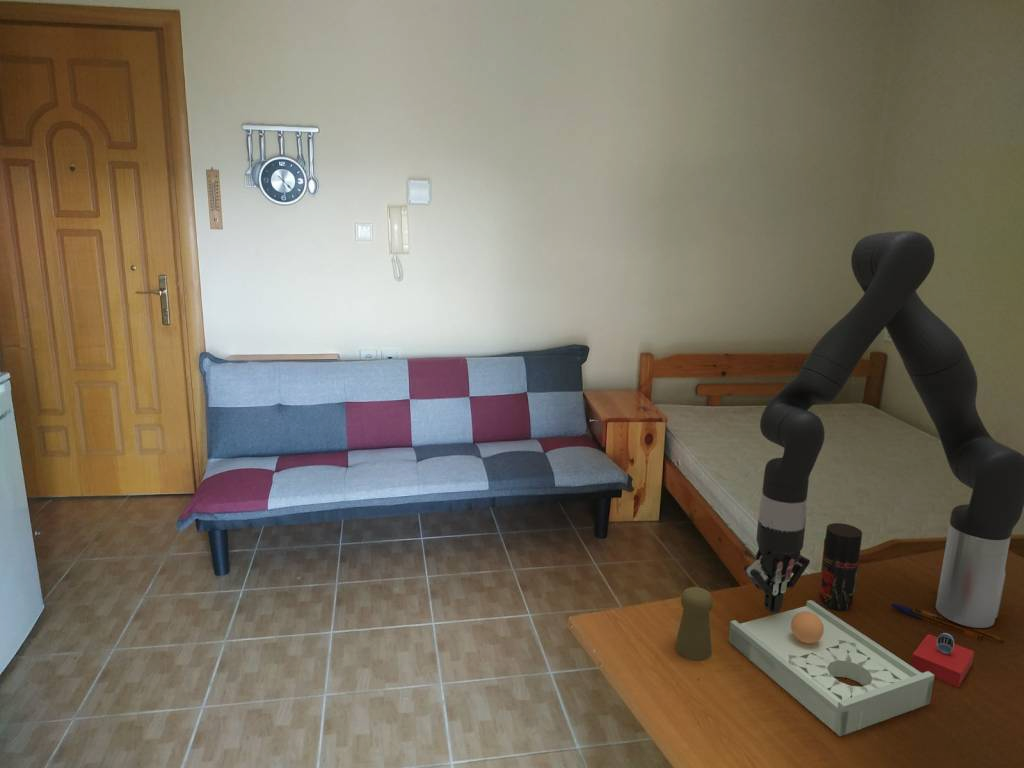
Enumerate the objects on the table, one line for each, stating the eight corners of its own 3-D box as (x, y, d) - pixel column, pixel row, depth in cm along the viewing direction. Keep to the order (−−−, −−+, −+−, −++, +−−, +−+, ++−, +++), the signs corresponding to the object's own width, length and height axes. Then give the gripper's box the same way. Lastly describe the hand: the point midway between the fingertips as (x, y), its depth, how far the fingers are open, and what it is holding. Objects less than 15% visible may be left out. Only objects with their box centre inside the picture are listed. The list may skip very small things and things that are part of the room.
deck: (808, 619, 126) (811, 594, 125) (930, 704, 105) (935, 675, 103) (728, 641, 120) (730, 616, 118) (840, 737, 98) (844, 707, 97)
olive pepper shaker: (714, 644, 119) (719, 586, 116) (708, 664, 114) (713, 604, 111) (679, 635, 121) (682, 579, 119) (671, 654, 116) (675, 596, 113)
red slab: (925, 648, 118) (930, 615, 117) (971, 666, 114) (977, 632, 112) (910, 669, 113) (915, 635, 112) (958, 689, 108) (964, 653, 107)
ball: (805, 629, 118) (808, 603, 117) (828, 645, 114) (832, 618, 113) (782, 635, 116) (785, 609, 115) (805, 652, 112) (808, 625, 111)
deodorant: (856, 612, 128) (866, 538, 125) (821, 609, 130) (831, 535, 126) (847, 596, 134) (857, 524, 130) (815, 592, 135) (823, 521, 132)
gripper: (795, 505, 124) (786, 592, 128) (735, 517, 119) (727, 607, 123) (828, 522, 117) (817, 613, 121) (766, 535, 112) (756, 630, 116)
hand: (772, 610), depth 122 cm, fingers closed
